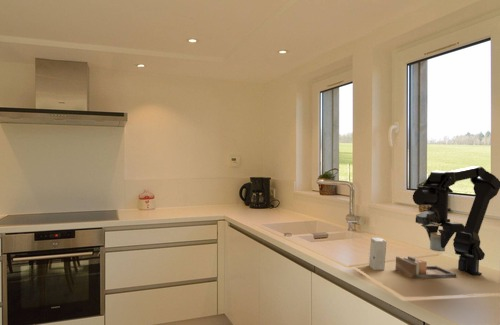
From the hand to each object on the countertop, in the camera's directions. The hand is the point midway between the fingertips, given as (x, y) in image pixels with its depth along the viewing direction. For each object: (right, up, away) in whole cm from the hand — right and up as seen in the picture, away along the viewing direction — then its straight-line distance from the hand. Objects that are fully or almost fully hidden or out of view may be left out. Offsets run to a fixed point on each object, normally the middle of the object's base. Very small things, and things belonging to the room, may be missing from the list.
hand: (437, 246), depth 133 cm
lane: (-5, -11, 0) cm, 12 cm away
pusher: (-11, -10, -2) cm, 14 cm away
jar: (-8, -10, -1) cm, 12 cm away
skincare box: (-21, -11, +4) cm, 24 cm away
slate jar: (0, -1, 0) cm, 1 cm away
